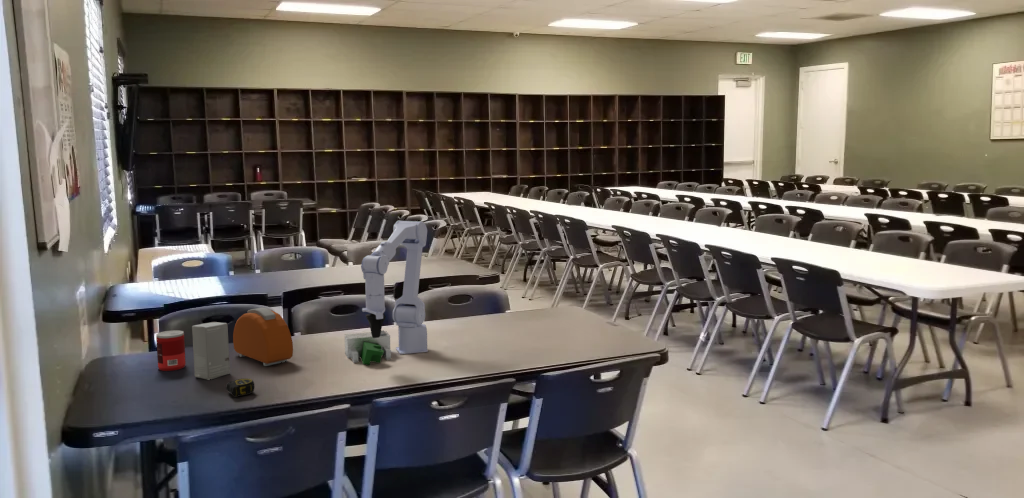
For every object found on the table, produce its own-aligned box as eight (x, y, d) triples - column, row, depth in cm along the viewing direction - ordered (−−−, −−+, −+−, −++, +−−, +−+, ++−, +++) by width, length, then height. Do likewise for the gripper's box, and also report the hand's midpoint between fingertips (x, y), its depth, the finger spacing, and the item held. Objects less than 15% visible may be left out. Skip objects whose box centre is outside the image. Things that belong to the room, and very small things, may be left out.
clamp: (377, 376, 241) (384, 355, 237) (360, 373, 239) (367, 352, 235) (376, 354, 250) (383, 334, 247) (360, 351, 248) (366, 331, 245)
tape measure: (225, 393, 211) (225, 380, 210) (250, 389, 214) (250, 376, 214) (232, 400, 205) (231, 386, 204) (257, 395, 209) (257, 382, 208)
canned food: (191, 365, 237) (189, 331, 236) (172, 372, 230) (170, 337, 228) (171, 363, 240) (169, 329, 238) (152, 369, 232) (150, 335, 231)
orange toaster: (294, 363, 240) (292, 311, 238) (268, 369, 234) (266, 316, 232) (257, 350, 256) (255, 301, 254) (232, 355, 250) (230, 305, 248)
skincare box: (208, 380, 221) (206, 328, 219) (192, 377, 225) (189, 325, 223) (232, 373, 229) (229, 322, 227) (215, 370, 232) (213, 319, 230)
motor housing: (386, 349, 257) (386, 329, 256) (394, 359, 245) (393, 338, 244) (345, 353, 252) (344, 332, 251) (350, 363, 240) (349, 341, 239)
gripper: (358, 290, 237) (359, 332, 239) (366, 299, 224) (367, 343, 226) (380, 289, 240) (381, 331, 242) (389, 297, 226) (390, 341, 228)
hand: (375, 337), depth 234 cm, fingers closed
